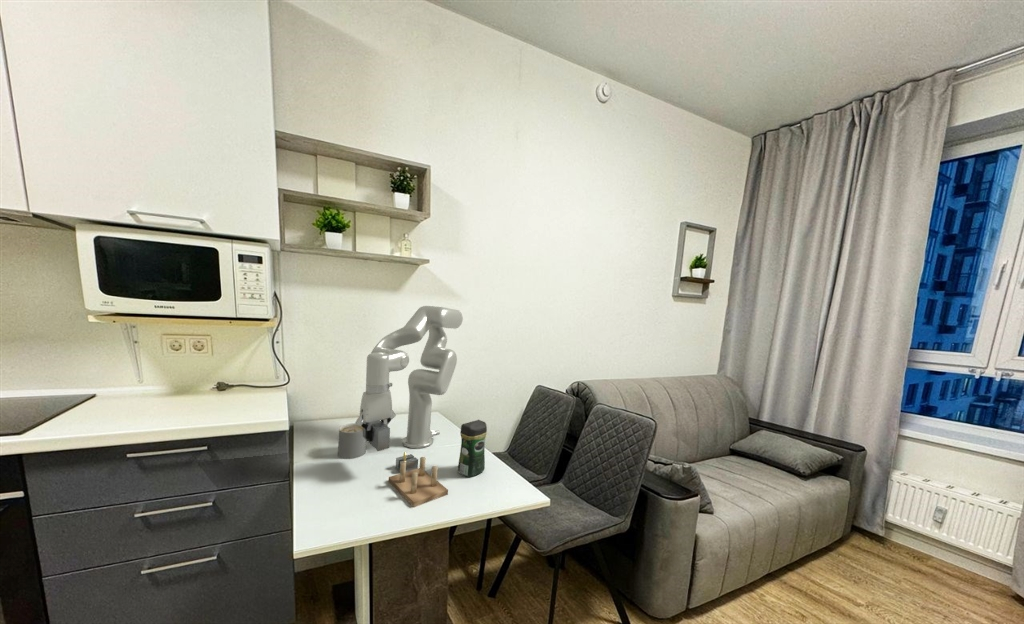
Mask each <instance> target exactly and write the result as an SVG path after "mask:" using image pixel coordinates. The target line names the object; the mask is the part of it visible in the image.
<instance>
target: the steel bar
mask: <svg viewBox="0 0 1024 624" xmlns="http://www.w3.org/2000/svg"><path fill="white" fill-rule="evenodd" d="M362 422H363V423H365V422H364V419H363V420H362ZM371 430H372V441H371V442H369V441H368V440H367V439H366V437H365V434H366V429H365V428H363V437H364V438H365V439H366V440H367V442H368V443H369V444H370V445H371V446H372V447H373V448H374V450H375V451H377V452H381V451H384V450H388V449H390V441H391V440H390V439H391V428H390V427H389V426H387V425H385V424H384V423H383V422H382V421H381V420H379V421H374V422H372V425H371Z"/></svg>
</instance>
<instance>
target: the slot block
mask: <svg viewBox="0 0 1024 624" xmlns="http://www.w3.org/2000/svg"><path fill="white" fill-rule="evenodd" d="M395 459H396V460H395V468H396V470H398V472H400V463H402V462H405V463H406V472H408V471H411V470H414V469H418V468H419V459H418V458H417V457H415V455H413V453H412V454H411V453H409V454H407V452H406V451H404V452H403V456H399V457H396V458H395Z"/></svg>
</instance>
